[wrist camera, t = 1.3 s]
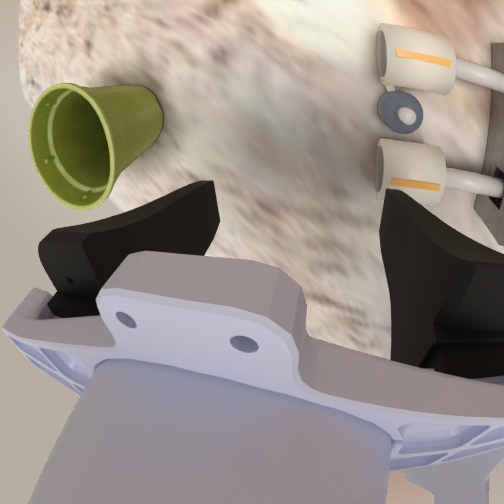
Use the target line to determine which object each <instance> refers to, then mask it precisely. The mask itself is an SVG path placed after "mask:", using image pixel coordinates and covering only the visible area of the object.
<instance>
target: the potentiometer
mask: <svg viewBox="0 0 504 504" xmlns="http://www.w3.org/2000/svg"><path fill="white" fill-rule="evenodd" d="M384 86H385V88H386V92H385V93H383V94H382V95H381V97H380V98H379V101H378V113H379V115H380V117H381V118H382V120H383V121H384V122H385V123H386V124H387V125H388V126H389V127H390V128H391V129H392V130H393V131H395V132H398V133H401V134H409V133H412V132H414V131H416V130H417V129H418V128H419V127H420V125H421V123H422V120H423V110H422V107H421V104H420V103H419V101H418V100H417V99H416V98H415V97H414V96H412V95H410V94H408V93H406V92H403V91H400V90H396V89H395V86H390V85H384Z"/></svg>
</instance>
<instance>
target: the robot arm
mask: <svg viewBox="0 0 504 504" xmlns="http://www.w3.org/2000/svg"><path fill="white" fill-rule="evenodd" d="M219 223H220V217H219V211H218V205H217V199H216V193H215V187H214V181H197V182H194V183H191V184H189V185H187V186H184V187H182V188H180V189H178V190H176V191H173V192H171V193H169V194H167V195H165V196H163V197H161V198H158V199H156V200H154V201H152V202H150V203H148V204H145V205H143V206H140V207H138V208H135V209H133V210H130V211H127V212H125V213H122V214H118V215H115V216H112V217H109V218H106V219H102V220H98V221H94V222H90V223H86V224H81V225H75V226H70V227H63V228H57V229H54V230H52V231H51V232H50V233H49V234H48V235H47V236H46V237H45V238H44V239H42V241H41V242H40V243H39V246H38V252H39V257H40V261H41V263H42V265H43V267H44V269H45V271H46V273H47V274H48V276H49V278H50V280H51V281H52V283H53V285H54V286H55V288H56V290H57V292H56V294H54V296H52V295H51V294H50V293H48V292H47V291H44V290H41V289H38V288H33V289H32V290H31V292H30V293H29V294H28V295H27V296H26V298H25V299H24V300H23V301H22V302H21V304H20V305H19V306H18V307H17V309H16V310H15V311H14V312H13V314H12V315H11V316H10V317H9V319H8V320H7V321H6V323H5V324H4V325H3V327H2V330H3V331H4V333H5V334H6V335H7V336H8V337H9V339H10V340H11V341H12V342H13V343H14V344H15V346H16V347H17V348H18V349H19V350H20V351H21V352H22V353H23V354H24V356H25V357H26V358H27V359H28V360H29V361H30V362H31V363H32V364H33V365H34V366H35V367H37V368H38V369H39V370H41V371H42V372H44V373H45V374H47V375H49V376H50V377H52V378H53V379H55V380H56V381H57V382H59V383H61V384H62V385H64V386H65V387H67V388H68V389H70V390H71V391H73V392H74V393H76V394H78V395H79V396H80V398H79V400H78V402H77V404H76V405H75V407H74V409H73V411H72V413H71V414H70V416H69V418H68V420H67V422H66V424H65V426H64V428H63V430H62V432H61V434H60V436H59V438H58V440H57V441H56V444H55V446H54V448H53V450H52V452H51V454H50V456H49V458H48V460H47V462H46V464H45V466H44V469H43V471H42V473H41V475H40V477H39V480H38V482H37V484H36V487H35V489H34V491H33V493H32V496H31V498H30V501H29V503H28V504H385V501H386V494H387V486H388V477H389V471H397V470H404V472H405V475H406V479H408V480H409V481H411V482H412V483H414V484H416V485H418V486H420V487H422V488H424V489H426V490H428V491H430V492H431V493H433V494H434V495H435V504H489V477H490V476H491V475H492V474H493V472H494V471H495V470H496V469H497V468H498V467H499V466H500V465H501V463H502V462H503V461H504V254H502V253H500V252H497V251H495V250H493V249H490V248H488V247H486V246H484V245H482V244H480V243H478V242H476V241H474V240H472V239H470V238H469V237H467V236H465V235H463V234H462V233H460V232H458V231H457V230H455V229H454V228H452V227H450V226H449V225H447V224H446V223H444V222H443V221H442V220H440V219H439V218H437V217H436V216H435V215H433V214H432V213H431V212H429V211H428V210H427V209H426V208H424V207H423V206H422V205H420V204H419V203H418V202H417V201H415V200H414V199H413V198H412V197H410V196H409V195H408V194H406V193H405V192H403V191H401V190H397V189H388V188H386V191H385V198H384V205H383V211H382V218H381V224H380V230H379V235H380V247H381V254H382V258H383V263H384V268H385V273H386V277H387V283H388V288H389V293H390V301H391V360H388V359H384V358H380V357H377V356H373V355H370V354H366V353H363V352H359V351H356V350H352V349H349V348H346V347H342V346H339V345H336V344H332V343H329V342H326V341H323V340H320V339H316V338H313V337H310V336H309V335H308V333H307V331H306V312H307V304H306V301H305V298H304V295H303V292H302V289H301V286H300V285H299V284H298V283H297V282H295V281H294V280H293V279H292V278H291V277H289V276H288V275H287V274H286V273H285V272H283V271H282V270H281V269H280V268H276V267H273V266H269V265H266V264H263V263H259V262H256V261H252V260H243V259H232V258H220V257H209V256H204V255H205V253H206V251H207V249H208V248H209V246H210V244H211V242H212V241H213V239H214V236H215V234H216V231H217V229H218V226H219Z"/></svg>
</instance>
